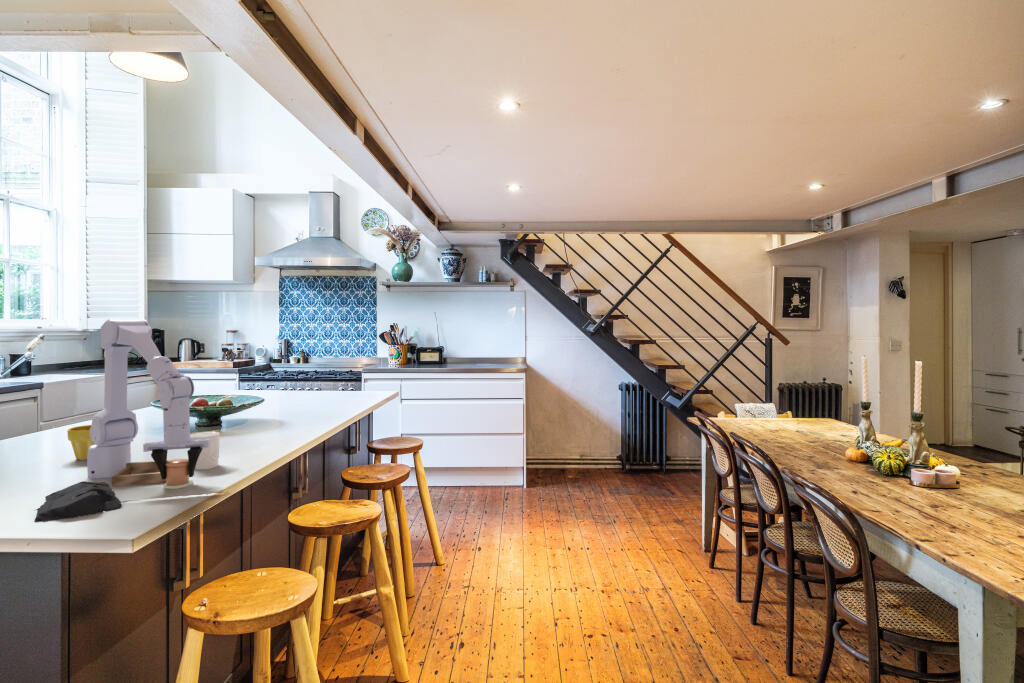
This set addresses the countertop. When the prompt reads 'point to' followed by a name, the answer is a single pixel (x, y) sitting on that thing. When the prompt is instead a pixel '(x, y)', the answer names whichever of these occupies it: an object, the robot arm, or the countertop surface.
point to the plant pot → (80, 440)
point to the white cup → (208, 450)
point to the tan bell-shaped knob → (177, 471)
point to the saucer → (177, 485)
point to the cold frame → (138, 474)
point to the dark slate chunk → (78, 501)
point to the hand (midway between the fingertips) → (178, 477)
